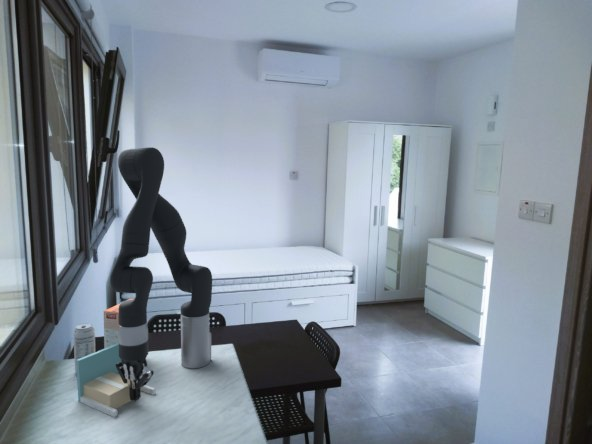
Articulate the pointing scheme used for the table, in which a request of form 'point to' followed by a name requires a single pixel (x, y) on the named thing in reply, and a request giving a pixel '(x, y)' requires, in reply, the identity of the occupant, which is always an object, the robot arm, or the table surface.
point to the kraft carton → (108, 390)
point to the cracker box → (111, 326)
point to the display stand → (97, 367)
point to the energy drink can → (83, 341)
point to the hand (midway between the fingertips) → (135, 399)
